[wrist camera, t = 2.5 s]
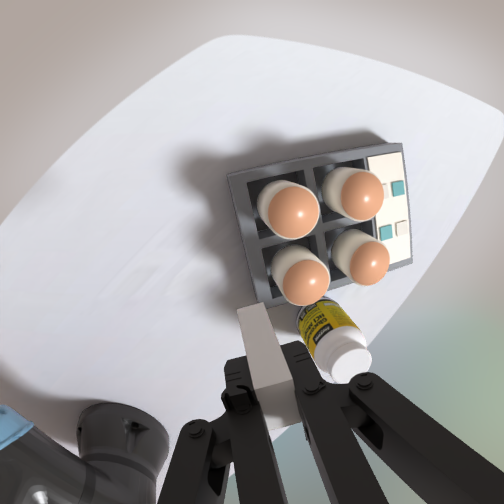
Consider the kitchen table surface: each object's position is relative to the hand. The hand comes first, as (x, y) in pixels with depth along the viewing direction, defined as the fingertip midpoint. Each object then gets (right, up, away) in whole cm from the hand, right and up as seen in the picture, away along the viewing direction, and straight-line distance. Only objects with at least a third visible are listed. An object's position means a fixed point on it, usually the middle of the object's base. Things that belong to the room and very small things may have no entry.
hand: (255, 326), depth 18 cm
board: (+8, +8, +19) cm, 22 cm away
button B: (+3, +9, +15) cm, 18 cm away
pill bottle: (+8, -4, +23) cm, 25 cm away
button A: (+4, +3, +17) cm, 18 cm away
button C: (+11, +4, +18) cm, 21 cm away
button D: (+10, +11, +16) cm, 21 cm away
